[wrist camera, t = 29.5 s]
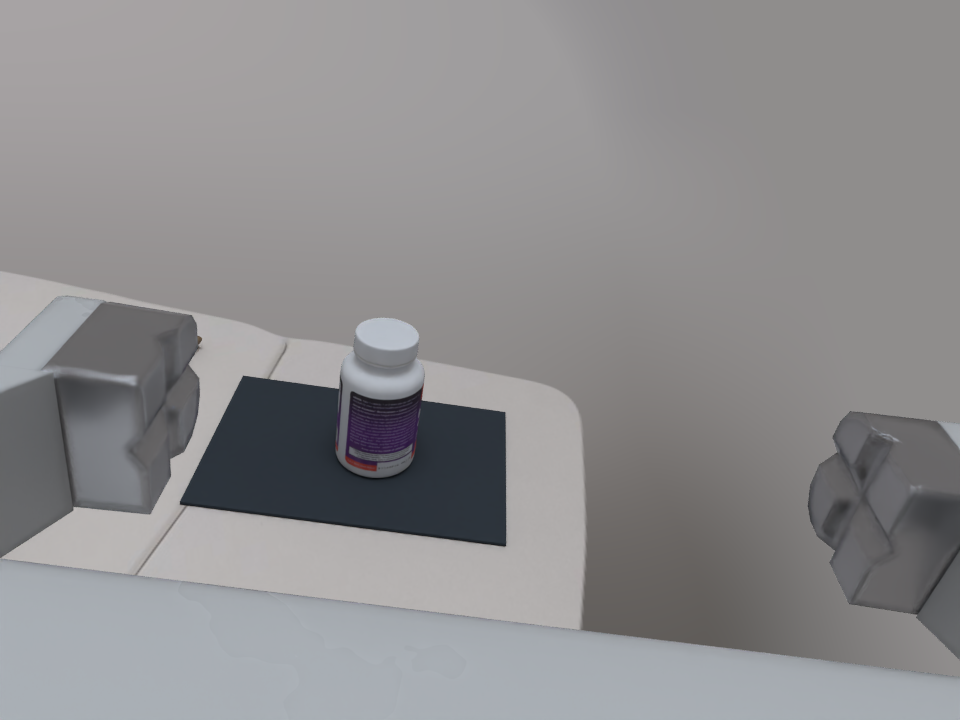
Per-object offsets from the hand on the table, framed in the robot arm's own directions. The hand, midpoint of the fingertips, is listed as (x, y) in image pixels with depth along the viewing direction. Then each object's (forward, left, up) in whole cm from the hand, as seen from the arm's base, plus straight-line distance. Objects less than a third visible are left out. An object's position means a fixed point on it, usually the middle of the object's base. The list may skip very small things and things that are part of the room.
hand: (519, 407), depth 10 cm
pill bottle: (+4, -35, -30) cm, 46 cm away
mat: (+5, -35, -30) cm, 46 cm away
